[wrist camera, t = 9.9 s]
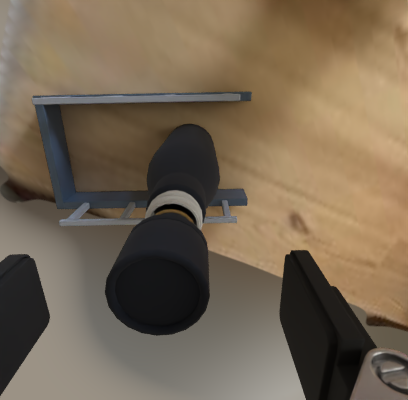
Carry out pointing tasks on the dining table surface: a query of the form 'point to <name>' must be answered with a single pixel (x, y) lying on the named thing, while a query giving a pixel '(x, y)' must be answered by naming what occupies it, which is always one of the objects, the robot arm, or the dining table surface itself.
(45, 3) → the dining table surface
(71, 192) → the dish rack
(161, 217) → the dark blue bottle
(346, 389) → the robot arm
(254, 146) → the dining table surface
